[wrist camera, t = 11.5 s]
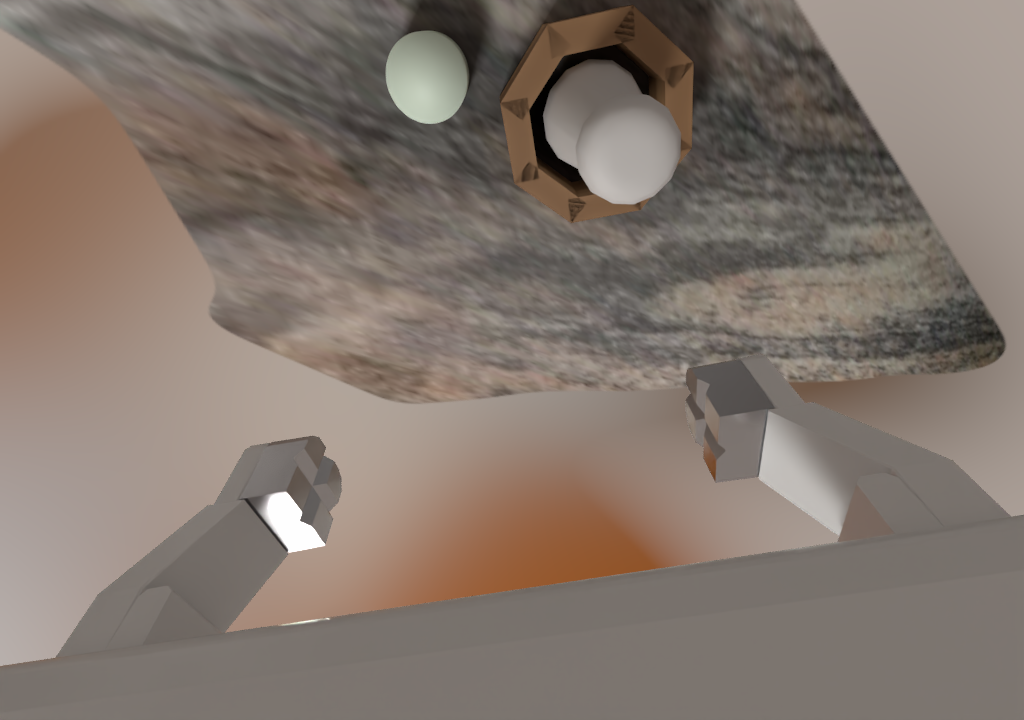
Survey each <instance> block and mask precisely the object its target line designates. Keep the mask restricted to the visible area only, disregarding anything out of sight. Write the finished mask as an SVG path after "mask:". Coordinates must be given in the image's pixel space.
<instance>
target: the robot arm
mask: <svg viewBox="0 0 1024 720" xmlns="http://www.w3.org/2000/svg"><path fill="white" fill-rule="evenodd" d="M686 385H687V387H688V389H689V391H690V393H691V394H690V395H689V396H688V397H687V399H686V415H687V421H688V425H689V428H690V431H691V434H692V436H693V438H694V440H695V442H696V443H698V444H699V445H701V446H703V459H704V461H705V463H706V465H707V467H708V469H709V471H710V473H711V475H712V477H713V479H714V481H715V482H723V481H731V480H739V479H746V478H754V477H759V480H761V481H762V482H764V483H765V484H766V485H768V486H769V487H771V488H772V489H773V490H775V491H776V492H778V493H779V494H781V495H782V496H783V497H785V498H786V499H788V500H789V501H790V502H792V503H793V504H795V505H796V506H798V507H799V508H800V509H802V510H803V511H804V512H806V513H807V514H809V515H810V516H811V517H813V518H814V519H816V520H817V521H818V522H820V523H821V524H823V525H824V526H825V527H827V528H828V529H830V530H831V531H832V532H834V533H835V534H837V535H838V536H839V539H838V542H837V543H830V544H823V545H816V546H809V547H802V548H796V549H789V550H782V551H775V552H768V553H762V554H755V555H748V556H741V557H735V558H729V559H721V560H714V561H708V562H702V563H694V564H688V565H680V566H674V567H667V568H661V569H654V570H647V571H640V572H633V573H626V574H620V575H613V576H606V577H600V578H593V579H586V580H580V581H573V582H566V583H559V584H553V585H546V586H539V587H532V588H526V589H519V590H512V591H505V592H498V593H492V594H485V595H478V596H471V597H465V598H457V599H451V600H444V601H437V602H430V603H424V604H417V605H410V606H403V607H396V608H390V609H383V610H376V611H369V612H362V613H356V614H349V615H342V616H336V617H329V618H322V619H315V620H308V621H302V622H295V623H288V624H281V625H275V626H269V627H261V628H255V629H248V630H241V631H234V632H227V633H225V631H226V630H227V629H228V628H229V626H230V625H231V624H232V623H233V622H234V620H235V619H236V618H237V617H238V615H239V614H240V613H241V612H242V611H243V609H244V608H245V607H246V606H247V604H248V603H249V602H250V601H251V600H252V598H253V597H254V596H255V595H256V593H257V592H258V591H259V589H260V588H261V587H262V586H263V585H264V584H265V582H266V581H267V580H268V579H269V577H270V576H271V575H272V574H273V572H274V571H275V570H276V569H277V568H278V566H279V565H280V564H281V563H282V561H283V560H284V559H285V558H286V557H287V555H288V553H287V552H292V551H298V550H302V549H308V548H313V547H319V546H324V545H325V544H326V541H327V537H328V534H329V531H330V528H331V524H332V521H333V518H332V516H331V514H330V512H329V511H330V510H331V509H332V508H333V507H334V506H335V505H336V504H337V503H338V502H339V498H340V495H341V476H340V472H339V469H338V467H337V465H336V464H335V462H334V461H333V460H331V459H329V458H327V457H325V456H324V452H325V449H326V447H325V445H324V444H323V442H322V441H321V439H320V438H319V437H316V436H309V437H302V438H296V439H290V440H284V441H277V442H272V443H267V444H260V445H254V446H250V447H249V448H247V449H246V450H245V451H244V452H243V454H242V456H241V458H240V459H239V461H238V463H237V465H236V466H235V468H234V470H233V472H232V474H231V475H230V477H229V479H228V481H227V482H226V484H225V486H224V488H223V490H222V491H221V493H220V495H219V496H218V498H217V500H216V502H215V504H214V505H209V506H206V507H205V508H204V509H203V510H201V511H200V512H199V513H198V514H196V515H195V516H194V517H193V518H192V519H190V520H189V521H188V522H187V523H185V524H184V525H183V526H182V527H181V528H179V529H178V530H177V531H176V532H174V533H173V534H172V535H171V536H169V537H168V538H167V539H166V540H164V541H163V542H162V543H161V544H160V545H158V546H157V547H156V548H155V549H153V550H152V551H151V552H150V553H149V554H147V555H146V556H145V557H144V558H143V559H141V560H140V561H139V562H137V563H136V564H135V565H134V566H133V567H132V568H130V569H129V570H128V571H126V572H125V573H124V574H123V575H122V576H120V577H119V578H118V579H117V580H115V581H114V582H113V583H112V584H110V585H109V586H108V587H107V588H106V589H104V590H103V591H102V592H101V593H99V594H98V595H97V597H96V598H95V600H94V601H93V603H92V604H91V606H90V607H89V609H88V610H87V612H86V613H85V615H84V616H83V618H82V619H81V621H80V622H79V623H78V625H77V626H76V628H75V629H74V631H73V632H72V634H71V635H70V637H69V638H68V640H67V641H66V643H65V644H64V646H63V647H62V649H61V650H60V652H59V653H58V655H57V656H56V657H55V658H51V659H44V660H38V661H31V662H24V663H17V664H12V665H4V666H0V720H1024V515H1020V516H1013V517H1011V516H1010V515H1009V514H1008V513H1007V512H1006V511H1005V510H1004V509H1003V508H1002V507H1001V506H1000V505H998V503H996V502H995V501H994V500H993V499H992V498H991V497H990V496H989V495H988V494H987V493H986V492H985V491H984V490H983V489H982V488H981V487H980V486H979V485H978V484H977V483H976V482H975V481H974V480H973V479H971V478H970V477H969V476H968V475H967V474H966V473H965V472H964V471H963V470H962V469H961V468H960V467H959V466H958V465H957V464H956V463H955V462H954V461H953V460H950V459H948V458H946V457H943V456H941V455H939V454H936V453H934V452H931V451H929V450H927V449H924V448H922V447H919V446H917V445H914V444H912V443H910V442H907V441H905V440H902V439H900V438H898V437H895V436H893V435H891V434H888V433H885V432H883V431H881V430H879V429H876V428H874V427H871V426H869V425H867V424H864V423H862V422H859V421H857V420H855V419H852V418H850V417H847V416H845V415H843V414H840V413H838V412H835V411H833V410H831V409H828V408H826V407H823V406H821V405H819V404H816V403H814V402H811V403H805V402H804V401H803V400H802V399H801V397H800V396H799V395H798V394H797V393H796V391H795V390H794V389H793V388H792V387H791V386H790V384H789V383H788V382H787V381H786V379H785V378H784V377H783V376H782V375H781V373H780V372H779V371H778V370H777V369H776V367H775V366H774V365H773V364H772V363H771V362H770V360H769V359H768V358H767V357H766V356H765V355H763V354H758V355H753V356H748V357H743V358H738V359H736V360H731V361H725V362H720V363H715V364H709V365H704V366H698V367H693V368H688V369H687V372H686Z"/></svg>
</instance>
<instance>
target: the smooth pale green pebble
mask: <svg viewBox="0 0 1024 720" xmlns="http://www.w3.org/2000/svg"><path fill="white" fill-rule="evenodd" d="M386 82H387V86H388V90H389V93H390V95H391V97H392V99H393V101H394V102H395V104H396V105H397V107H398V108H399V109H400V110H401V111H402V112H403V113H404V114H405V115H407V116H408V117H410V118H411V119H413V120H415V121H418V122H421V123H427V124H434V123H439V122H442V121H445V120H447V119H448V118H450V117H451V116H452V115H454V114H455V113H456V111H457V110H458V109H459V107H460V106H461V104H462V102H463V100H464V98H465V95H466V93H467V90H468V86H469V68H468V64H467V60H466V58H465V55H464V54H463V52H462V50H461V49H460V47H459V46H458V45H457V44H456V42H455V41H453V40H452V39H451V38H450V37H448V36H447V35H445V34H443V33H440V32H437V31H429V30H426V31H418V32H413V33H410V34H408V35H406V36H404V37H403V38H401V39H400V40H399V41H398V42H397V43H396V44H395V45H394V47H393V48H392V50H391V52H390V54H389V57H388V60H387V64H386Z"/></svg>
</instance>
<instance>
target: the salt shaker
mask: <svg viewBox="0 0 1024 720" xmlns="http://www.w3.org/2000/svg"><path fill="white" fill-rule="evenodd" d="M543 119H544V126H545V134H546V140H547V141H548V143H549V144H550V146H551V147H552V149H553V151H554V152H555V154H556V155H557V157H558V158H559V159H561V160H563V161H564V162H566V163H568V164H570V165H572V166H573V167H575V168H577V169H578V171H579V173H580V175H581V177H582V178H583V180H584V181H585V183H586V185H587V186H588V188H589V190H590V191H591V192H592V193H594V194H596V195H598V196H600V197H601V198H603V199H605V200H607V201H609V202H611V203H613V204H633V205H634V204H636V203H638V202H641V201H643V200H645V199H648V198H650V197H652V196H654V195H655V194H656V193H657V192H658V191H659V190H660V189H661V188H662V187H663V186H664V185H665V184H667V183H668V182H669V181H670V180H671V178H672V176H673V173H674V171H675V169H676V166H677V164H678V161H679V159H680V154H681V132H680V130H679V128H678V126H677V124H676V122H675V121H674V119H673V117H672V115H671V113H670V111H669V109H668V108H667V107H666V106H664V105H663V104H661V103H660V102H658V101H657V100H655V99H654V98H652V97H651V96H649V95H644V94H642V93H641V91H640V89H639V87H638V85H637V83H636V81H635V80H634V78H633V76H632V74H631V73H630V72H629V71H627V70H626V69H624V68H623V67H621V66H620V65H619V64H617V63H616V62H614V61H613V60H593V59H588V60H586V61H584V62H582V63H580V64H578V65H576V66H573V67H571V68H569V69H567V70H566V71H565V72H564V73H563V74H562V76H561V77H560V78H559V80H558V81H557V82H556V83H555V85H554V86H553V87H552V88H551V90H550V92H549V95H548V99H547V103H546V106H545V110H544V113H543Z"/></svg>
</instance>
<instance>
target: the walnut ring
mask: <svg viewBox="0 0 1024 720" xmlns="http://www.w3.org/2000/svg"><path fill="white" fill-rule="evenodd" d="M611 45H615V46H616V47H617V48H618V49H619V50H620V51H621V52H623V53H624V54H625V55H626V56H627V57H628V58H629V59H630V60H631V61H633V62H634V63H635V64H636V65H637V66H638V67H639V68H640V69H642V70H643V71H644V72H645V73H646V74H647V75H648V76H649V96H651V97H652V98H654V99H655V100H657V101H658V102H660V103H661V104H663V105H664V106H666V107H667V108H668V109H669V111H670V113H671V115H672V117H673V119H674V121H675V122H676V124H677V126H678V128H679V130H680V132H681V154H680V159H679V161H678V164H679V163H680V161H681V160H682V159H683V158H684V157H685V155H686V154H687V153H688V152H689V151H690V149H692V106H693V63H694V62H693V61H691V60H690V59H689V58H688V57H687V56H686V55H685V54H684V53H683V52H682V51H681V50H680V49H679V48H678V47H677V46H676V45H675V44H673V43H672V42H671V41H670V40H669V39H668V38H667V37H666V36H665V35H664V34H663V33H662V32H661V31H660V30H659V29H658V28H657V27H656V26H654V25H653V24H652V23H651V22H650V21H649V20H648V19H647V18H646V17H645V16H644V15H643V14H642V13H641V12H640V11H639V10H638V9H636V8H635V7H634V5H629V6H622V7H618V8H613V9H609V10H604V11H600V12H596V13H591V14H587V15H582V16H578V17H573V18H569V19H565V20H560V21H556V22H551V23H547V24H542V26H541V28H540V29H539V31H538V33H537V34H536V36H535V38H534V39H533V41H532V43H531V45H530V46H529V48H528V50H527V51H526V53H525V55H524V56H523V58H522V60H521V61H520V63H519V65H518V66H517V68H516V70H515V72H514V73H513V75H512V77H511V78H510V80H509V82H508V83H507V85H506V87H505V88H504V90H503V92H502V93H501V95H500V104H501V110H502V116H503V121H504V127H505V132H506V138H507V144H508V149H509V155H510V160H511V166H512V172H513V177H514V183H515V184H516V185H518V186H519V187H521V188H522V189H524V190H525V191H526V192H528V193H529V194H531V195H532V196H533V197H535V198H536V199H538V200H539V201H541V202H542V203H543V204H545V205H546V206H548V207H549V208H551V209H552V210H553V211H555V212H556V213H558V214H559V215H561V216H562V217H563V218H565V219H566V220H568V221H569V222H571V223H574V222H579V221H584V220H589V219H595V218H600V217H605V216H611V215H616V214H621V213H626V212H632V211H637V210H641V209H642V207H643V206H644V205H645V204H646V202H647V201H648V200H649V199H650V198H651V197H650V198H648V199H645V200H643V201H641V202H638V203H636V204H634V205H633V204H613V203H611V202H609V201H607V200H605V199H603V198H601V197H600V196H598V195H596V194H594V193H592V192H591V191H590V190H589V188H588V186H587V185H586V183H585V181H584V180H580V181H575V182H570V181H569V180H568V179H566V178H565V177H564V176H562V175H561V174H560V173H558V172H557V171H555V170H554V169H553V168H551V167H550V166H549V165H547V164H546V163H545V162H543V161H542V160H541V159H539V158H538V157H536V154H535V147H534V140H533V134H532V127H531V120H530V113H529V109H530V108H531V106H532V105H533V103H534V102H535V100H536V98H537V97H538V95H539V94H540V92H541V90H542V89H543V87H544V86H545V84H546V83H547V81H548V79H549V78H550V76H551V75H552V73H553V71H554V70H555V68H556V67H557V65H558V63H559V62H560V60H561V59H562V57H563V56H565V55H570V54H574V53H579V52H583V51H588V50H593V49H597V48H602V47H606V46H611ZM678 164H677V165H678Z"/></svg>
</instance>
